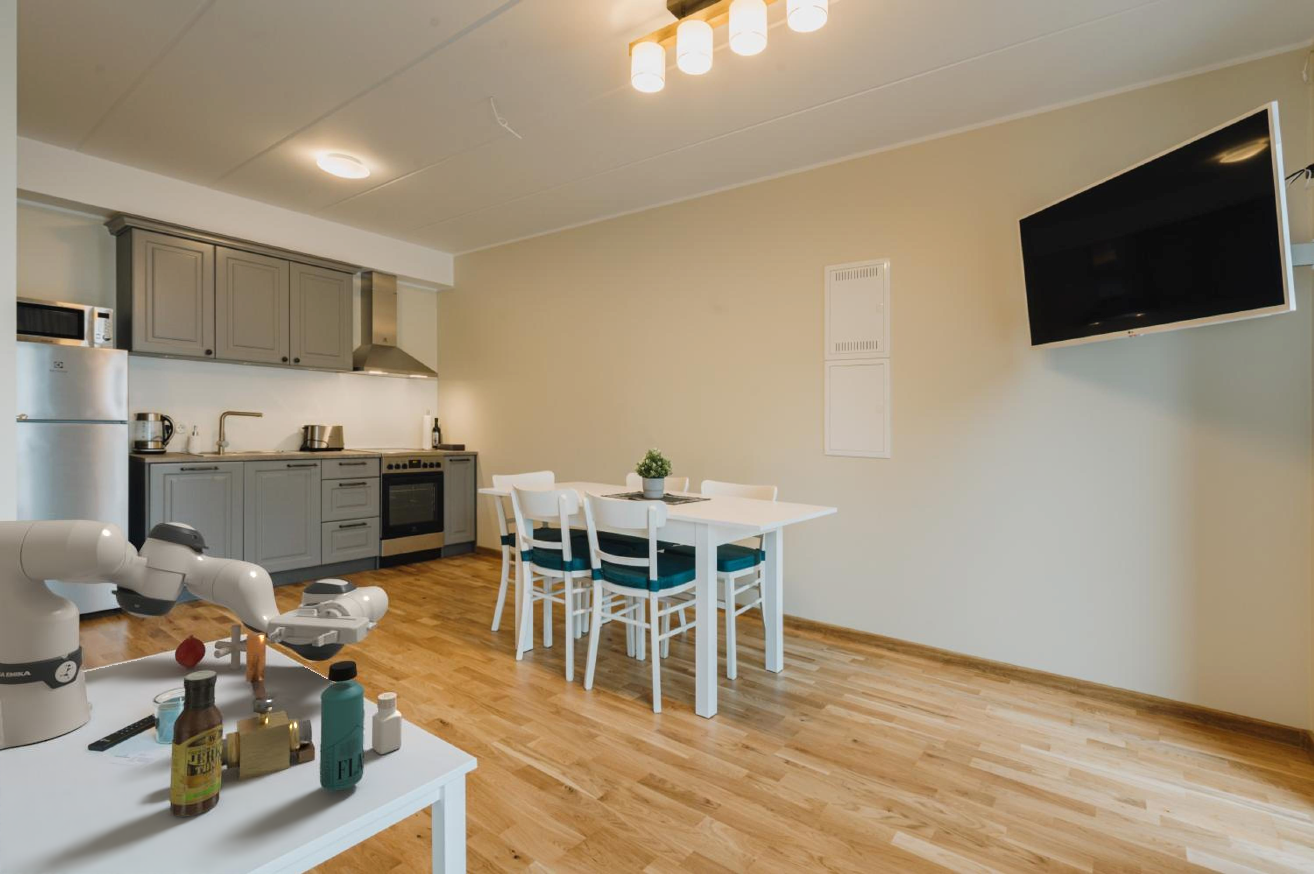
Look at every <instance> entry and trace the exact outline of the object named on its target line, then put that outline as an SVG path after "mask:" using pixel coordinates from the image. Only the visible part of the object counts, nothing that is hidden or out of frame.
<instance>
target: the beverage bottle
mask: <svg viewBox="0 0 1314 874" xmlns="http://www.w3.org/2000/svg"><path fill="white" fill-rule="evenodd" d="M357 676H358V668H357V663H356V661H354V660H341V661H337V662H334V663H332V664H330V665H329V667H328V676H327V677H328V678H327V679H328V681H330V682H333V683H331V684H330V685H328V686H327V687H326V688H325V689H324V690H323V691H322V692H321V694H320V701H321V702H320V746H319V747H320V751H319V752H320V754H319V755H320V756H319V759H320V760H319V763H318V765H319V771H318V773H319V783H320V786H321V788H323V789H324V790H327V791H340V790H344V789H349V788H350V787H353V786H355V785H356V784H358V783H359V782H360V781H361V780H362V778H363V775H364V772H365V765H364V759H365V748H364V744H365V737H364V730H365V729H366V728H365V727H364V726H365V714H366V713H365V706H364V705H365V700H364V696H365V694H364V692H365V688H364V686H362V685H361V684H360V683H359V682H357V681H355V680H353V679H356V677H357Z"/></svg>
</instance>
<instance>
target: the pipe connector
mask: <svg viewBox="0 0 1314 874" xmlns="http://www.w3.org/2000/svg"><path fill="white" fill-rule="evenodd" d="M241 629H242V626H241V624H234V625H231V635H230V637H231V638H230V640H231V641H223V640H218V641H216V642H215V643H214V649H216V650H215V651H214V653H213V656H214V657H215V659H220V658H223V657H225V656H228V655H229V654H230V670H232V669H235V670H239V669H240V668H241V652H243V653H246V639H247V638H245V639H242V640H241V633H242V630H241ZM238 668H239V669H238Z"/></svg>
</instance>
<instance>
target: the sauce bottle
mask: <svg viewBox="0 0 1314 874" xmlns="http://www.w3.org/2000/svg"><path fill="white" fill-rule="evenodd" d="M217 675H218V674H217V672H216V671H214V670H199V671H194V672H191V673H189V674H187V675H186V676H184V678H183V688H184V702H183V709H182V711H181V712H180V713H179V714H178V716H177V718H176V719H175V721H174V724H173V737H172V740H171V761H170V762H171V765H170V768H171V769H170V784H169V785H170V786H169V787H170V788H169V789H170V790H169V802H170V806H169V812H170V813H171V814H172V815H173V816H174V817H176V816H177V817H190V816H195V815H198V814H201V813H204V812H207V811H209V810H210V809H212V808H213V807H215V806H216V805H217V804H218V803H219V801H220V790H221V787H222V767H223V766H222V741H223V736H224V725H223V721H224V720H223V714H222V712H221V710H220V709H219V708H218V707H217V705H216V704H215V702H216V701H215V700H216V697H215V691H216V690H215V689H216V688H215V687H216V683H217V678H218V676H217Z"/></svg>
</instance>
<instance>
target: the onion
mask: <svg viewBox="0 0 1314 874" xmlns="http://www.w3.org/2000/svg"><path fill="white" fill-rule="evenodd" d="M206 649H207V648H206V646H205V644H204V642H202V641H201V640H200V639H199V638H195V636H194V634H189V635H188V637H186V638H185V639H184V640H183V641H182V642H181V643H179V645H178V646H177V648H176V649H175V653H174V658H175V661H176V662H177V664H179V665H180V666H182V667H184V668H187V669H188V670H190V669H193V668H195V667H196V665H198V664H199V663H200V662H201V661H202V660H203V659H204V657H205V655H206V652H207V651H206Z"/></svg>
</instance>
